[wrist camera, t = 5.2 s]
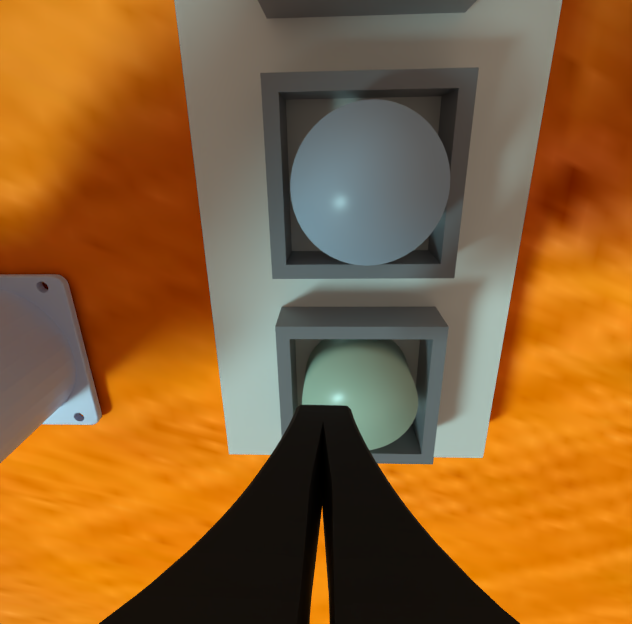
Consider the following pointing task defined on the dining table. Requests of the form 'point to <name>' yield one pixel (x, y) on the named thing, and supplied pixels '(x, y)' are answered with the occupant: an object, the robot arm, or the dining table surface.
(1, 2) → the dining table surface
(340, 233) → the dusty blue button
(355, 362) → the sage button
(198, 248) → the dining table surface
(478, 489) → the dining table surface
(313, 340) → the button console
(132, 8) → the dining table surface
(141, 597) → the robot arm
